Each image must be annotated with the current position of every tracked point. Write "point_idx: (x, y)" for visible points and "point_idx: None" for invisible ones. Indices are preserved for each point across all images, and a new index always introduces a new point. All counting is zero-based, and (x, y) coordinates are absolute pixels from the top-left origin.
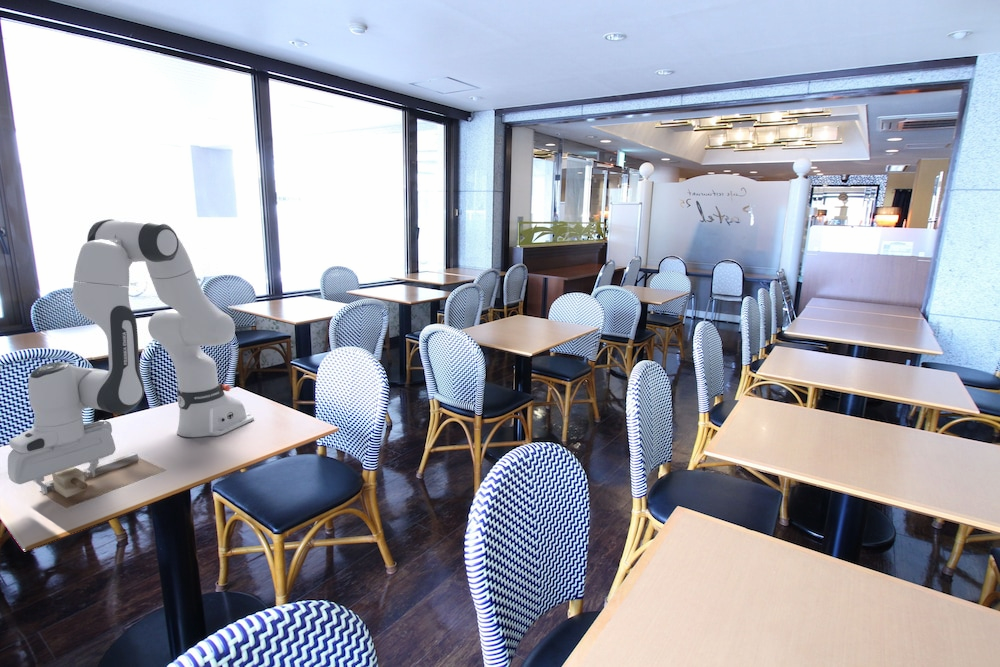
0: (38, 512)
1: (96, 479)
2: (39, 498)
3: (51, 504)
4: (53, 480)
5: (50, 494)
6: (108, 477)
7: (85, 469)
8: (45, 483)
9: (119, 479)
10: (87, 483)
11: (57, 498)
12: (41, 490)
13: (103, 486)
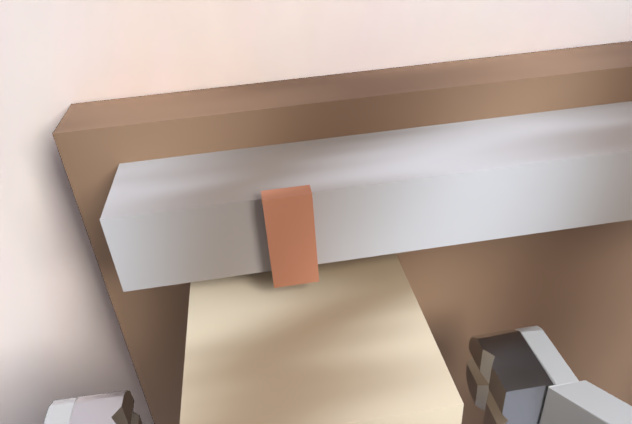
0: (40, 384)
1: (537, 260)
2: None
3: None
4: (188, 343)
5: (143, 292)
6: (606, 292)
7: (590, 168)
8: (107, 235)
9: (610, 378)
10: (449, 290)
11: (177, 400)
12: (47, 419)
13: (483, 411)
